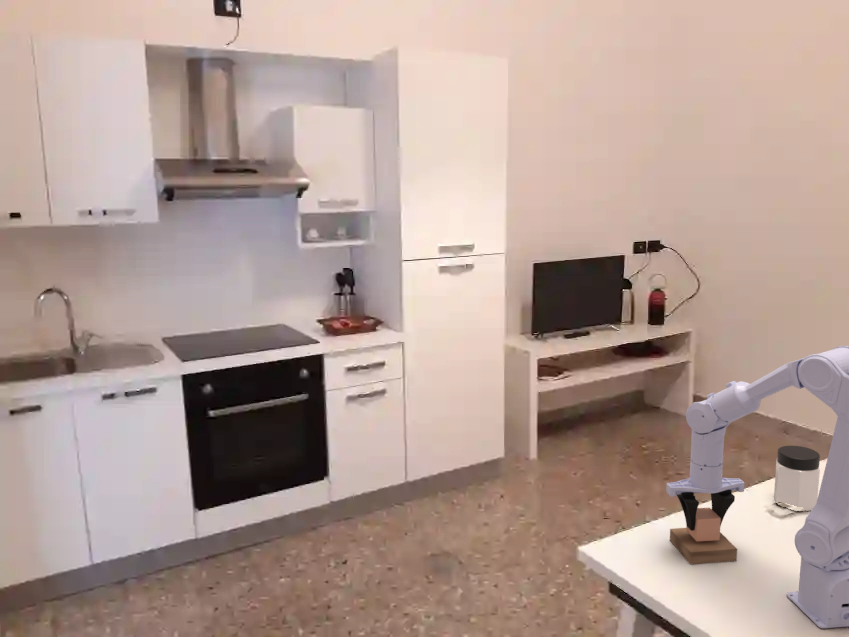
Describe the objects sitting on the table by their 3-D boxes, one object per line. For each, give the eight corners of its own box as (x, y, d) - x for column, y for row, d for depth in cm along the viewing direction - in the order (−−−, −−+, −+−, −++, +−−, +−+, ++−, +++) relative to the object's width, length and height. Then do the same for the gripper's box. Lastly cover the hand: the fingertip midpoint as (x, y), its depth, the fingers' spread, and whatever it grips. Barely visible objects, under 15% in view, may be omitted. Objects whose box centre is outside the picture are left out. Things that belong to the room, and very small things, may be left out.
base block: (736, 560, 131) (737, 548, 130) (690, 564, 130) (690, 552, 129) (713, 537, 139) (713, 525, 139) (669, 540, 139) (670, 528, 138)
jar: (824, 504, 152) (828, 452, 149) (808, 516, 146) (812, 463, 144) (782, 491, 158) (785, 441, 156) (765, 502, 153) (769, 451, 151)
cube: (719, 540, 132) (720, 518, 131) (696, 541, 132) (697, 519, 131) (708, 528, 136) (709, 507, 135) (686, 529, 136) (687, 508, 135)
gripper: (732, 450, 135) (728, 514, 138) (660, 455, 134) (658, 519, 137) (752, 465, 129) (747, 532, 131) (676, 469, 128) (673, 537, 130)
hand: (703, 527), depth 134 cm, fingers closed on cube, 4 cm apart
